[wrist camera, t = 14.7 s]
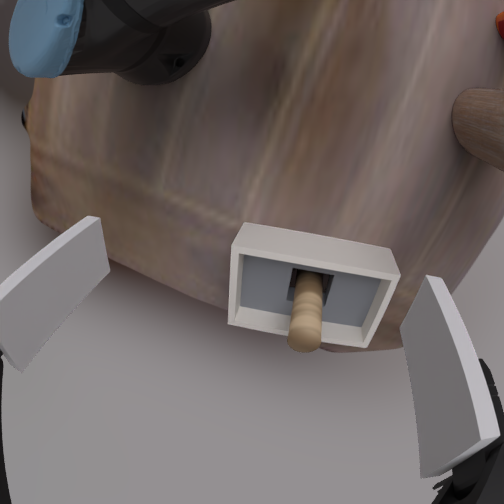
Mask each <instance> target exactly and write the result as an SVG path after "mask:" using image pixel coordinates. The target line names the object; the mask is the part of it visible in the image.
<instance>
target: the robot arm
mask: <svg viewBox="0 0 504 504" xmlns="http://www.w3.org/2000/svg"><path fill="white" fill-rule="evenodd" d="M231 1H235V0H18V2H17V4H16V7H15V10H14V13H13V17H12V20H11V25H10V31H9V51H10V56H11V60H12V63H13V65H14V67H15V68H16V69H17V71H19V72H20V73H21V74H24V75H25V76H27V77H47V78H55V77H57V76H62V75H72V74H86V73H111V72H114V73H116V74H117V75H119V76H121V77H122V78H124V79H126V80H128V81H130V82H132V83H135V84H140V85H160V84H165V83H169V82H172V81H174V80H176V79H178V78H180V77H182V76H183V75H185V74H186V73H187V72H189V71H190V70H191V69H192V68H193V67H194V66H195V65H196V64H197V63H198V61H199V60H200V59H201V57H202V56H203V54H204V52H205V50H206V48H207V46H208V43H209V40H210V36H211V19H210V16H209V13H208V11H207V10H209V9H211V8H214V7H217V6H220V5H222V4H225V3H228V2H231ZM109 272H110V268H109V263H108V258H107V253H106V248H105V243H104V237H103V231H102V226H101V220H100V218H99V217H93V216H86V217H85V218H84V219H82V220H81V221H79V222H78V223H76V224H75V225H74V226H72V227H71V228H69V229H68V230H67V231H65V232H64V233H63V234H61V235H60V236H59V237H57V238H56V239H55V240H53V241H52V242H51V243H49V244H48V245H47V246H46V247H44V248H43V249H42V250H40V251H39V252H38V253H37V254H35V255H34V256H33V257H32V258H30V259H29V260H28V261H27V262H26V263H24V264H23V265H22V266H21V267H20V268H19V269H18V270H16V271H15V272H14V273H13V274H12V275H10V276H9V277H8V278H7V279H6V280H5V281H4V282H3V283H2V284H1V285H0V504H11V499H10V494H9V489H8V483H7V477H6V471H5V463H4V454H3V443H2V423H1V398H2V396H1V395H2V376H3V361H2V359H1V356H2V355H3V354H4V356H5V357H6V359H7V360H8V362H9V363H10V364H11V365H12V366H13V367H14V368H16V369H17V370H18V371H20V372H21V373H22V372H23V371H24V369H25V368H26V367H27V366H28V365H29V363H30V362H31V361H32V359H33V358H34V357H35V356H36V354H37V353H38V352H39V351H40V349H41V348H42V347H43V346H44V344H45V343H46V342H47V341H48V340H49V338H50V337H51V336H52V335H53V333H54V332H55V331H56V330H57V329H58V328H59V326H60V325H61V324H62V323H63V322H64V321H65V319H66V318H67V317H68V316H69V315H70V314H71V313H72V312H73V310H74V309H75V308H76V307H77V306H78V305H79V304H80V302H81V301H83V299H84V298H85V297H86V296H87V295H88V294H89V293H90V292H91V291H92V290H93V289H94V288H95V287H96V285H97V284H98V283H99V282H100V281H101V280H102V279H103V278H104V277H105V276H106V275H107V274H108V273H109ZM400 332H401V337H402V341H403V346H404V350H405V355H406V360H407V365H408V370H409V376H410V382H411V387H412V394H413V400H414V407H415V415H416V423H417V433H418V443H419V456H420V476H421V478H428V477H434V476H440V475H442V474H444V473H445V472H447V471H449V470H451V469H452V472H453V475H452V476H450V477H448V478H446V479H444V480H443V481H441V482H439V483H437V484H436V485H435V486H434V487H433V489H434V490H435V489H437V488H439V487H441V486H443V487H442V489H440V490H439V491H438V495H437V496H436V498H435V500H434V501H433V502H432V504H504V412H503V409H502V405H501V402H500V398H499V397H498V392H497V389H496V386H494V384H495V383H494V380H493V377H492V374H491V371H490V369H489V368H488V366H487V365H486V364H485V362H484V361H483V359H478V357H477V355H476V352H475V350H474V347H473V344H472V342H471V339H470V337H469V335H468V332H467V330H466V327H465V325H464V323H463V321H462V318H461V316H460V314H459V312H458V310H457V308H456V306H455V303H454V301H453V299H452V297H451V295H450V293H449V291H448V289H447V287H446V285H445V283H444V281H443V280H442V278H440V277H434V276H429V275H425V278H424V280H423V282H422V284H421V286H420V289H419V291H418V293H417V295H416V297H415V299H414V301H413V303H412V305H411V307H410V309H409V311H408V313H407V315H406V317H405V319H404V321H403V322H402V324H401V326H400Z"/></svg>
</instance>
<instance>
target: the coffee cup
mask: <svg viewBox="0 0 504 504" xmlns="http://www.w3.org/2000/svg"><path fill="white" fill-rule="evenodd" d="M496 26H497V29H498V31H499V34H500V35H501V37H502V38H503V40H504V12H502V13H500V14H498V15H497V17H496Z"/></svg>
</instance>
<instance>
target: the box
mask: <svg viewBox="0 0 504 504" xmlns="http://www.w3.org/2000/svg"><path fill="white" fill-rule="evenodd" d="M292 268H297V269H302V270H308V271H314V272H319V273H325V274H330V277H329V280H328V284H327V287H326V291H325V293H322V332H321V342H327V343H334V344H341V345H348V346H355V347H363V348H367V346H368V345H369V343H370V341H371V339H372V337H373V335H374V333H375V331H376V329H377V327H378V325H379V323H380V321H381V319H382V317H383V315H384V312H385V310H386V308H387V306H388V304H389V302H390V299H391V297H392V295H393V293H394V290H395V288H396V286H397V283H398V281H399V279H400V276H401V275H400V272H399V269H398V267H397V264H396V261H395V259H394V256H393V254H392V251H391V249H390V248H385V247H380V246H375V245H370V244H365V243H360V242H355V241H350V240H344V239H339V238H334V237H328V236H323V235H317V234H312V233H306V232H301V231H295V230H289V229H283V228H278V227H272V226H266V225H260V224H254V223H248V222H244V223H243V225H242V227H241V229H240V230H239V232H238V234H237V236H236V238H235V239H234V241H233V243H232V245H231V263H230V284H229V307H228V324H230V325H235V326H239V327H244V328H249V329H253V330H259V331H263V332H269V333H274V334H280V335H285V336H288V333H289V326H290V320H291V313H292V306H293V300H294V292H295V288H294V287H289V284H290V279H291V274H292Z"/></svg>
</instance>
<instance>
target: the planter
mask: <svg viewBox="0 0 504 504" xmlns="http://www.w3.org/2000/svg"><path fill="white" fill-rule="evenodd" d="M452 124H453V129H454V132H455V135H456V137H457V139H458V141H459V143H460V144H461V146H462V147H463V148H464V149H465V150H466V151H467V152H469V153H470V154H472V155H473V156H475V157H477V158H479V159H481V160H483V161H485V162H487V163H489V164H491V165H492V166H494V167H496V168H498V169H500V170H502V171H503V172H504V90H502V89H489V88H471V89H467V90H465V91H463V92H462V93H461V94H460V95H459V96H458V97H457V99H456V101H455V103H454V106H453V111H452Z"/></svg>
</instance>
